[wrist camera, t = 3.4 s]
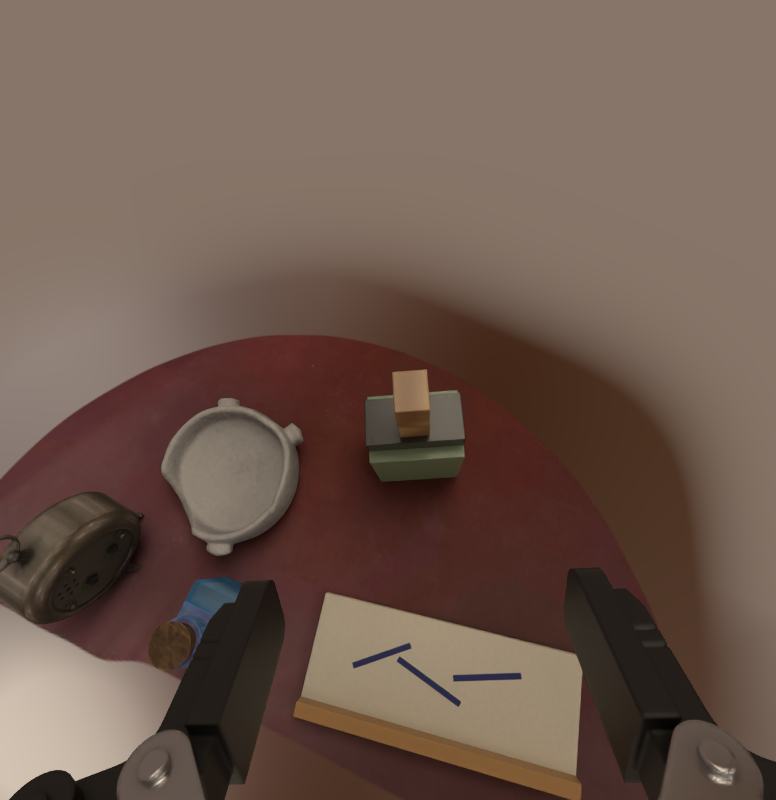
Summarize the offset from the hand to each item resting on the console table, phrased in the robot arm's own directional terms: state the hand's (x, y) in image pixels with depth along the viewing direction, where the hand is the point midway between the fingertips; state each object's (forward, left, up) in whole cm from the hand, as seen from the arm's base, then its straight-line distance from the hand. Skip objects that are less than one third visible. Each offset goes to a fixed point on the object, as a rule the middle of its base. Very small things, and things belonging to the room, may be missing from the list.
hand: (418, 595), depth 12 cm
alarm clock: (+31, +6, -33) cm, 45 cm away
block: (+3, -11, -33) cm, 35 cm away
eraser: (+3, -11, -23) cm, 25 cm away
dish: (+21, -5, -33) cm, 39 cm away
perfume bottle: (+17, +9, -33) cm, 38 cm away
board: (-3, +9, -33) cm, 34 cm away
